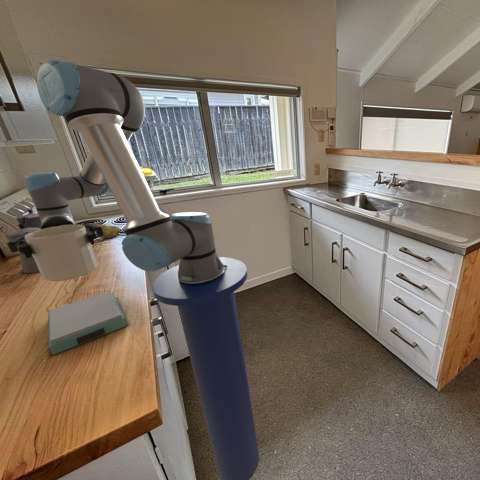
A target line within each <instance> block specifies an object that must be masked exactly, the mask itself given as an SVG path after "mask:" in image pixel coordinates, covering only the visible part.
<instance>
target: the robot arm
mask: <svg viewBox="0 0 480 480" xmlns="http://www.w3.org/2000/svg"><path fill="white" fill-rule="evenodd" d="M36 78H37V79H36V86H37V93H38V95H39V96H38V97H39V99H40V101H41V103H42V104H43V106H44V107H45V108H46V110H47V111H49V112H50V113H51V114H53V115H56V116H58V117H63V119H64V120H65V122H66V124H67V126H68V128H69V129H71V130H73V131H75V132H77V133H79V134H80V135H81V136H82V139H83V141H84V143H85V144H86V146H87V149H88V150H89V152H88V154H87V157H86V160H85V161H84V164H83V166H82V168H81V171H80V172H79V175H75V176H64V177H63V176H62V177H59V175H58V174H57V173H55V172H35V173H27V174H26V175H25V176H24V181H25V182H24V183H25V185H26V186H25V187H26V189H27V192H28V193H29V196H30V197H31V200H32V202H33V205H34V207H35V209H36V213H38V215H39V218H40V220H41V229H45V228H50V227H56V226H63V225H76V223H75V219H74V216H73V214H72V212H71V210H70V206H69V203H68V201H74V200H79V199H84V198H85V199H86V198H91V197H92V198H93V197H100V196H103V195H106V194H110V193H112V196H113V198H114V200H115V202H116V204H117V206H118V207H119V210H120V211H121V214H122V216H123V217H124V219H125V221H126V224H125V226H124V229H123V231H124V233H125V235H126V236H125V237H124V238H123V239H122V241H121V245H122V246H121V250H122V252H123V254H124V256H125V257H126V259H127V260H128V261H129V262H130V263H131V264H132V265H133V266H135V267H136V268H138V269H140V270H142V271H144V272H157V271H159V270H161V269H164V268H168V267H169V266H171V265H172V264H173V263H176V262H178V261H179V263H178V265H179V269H178V279H179V282H180V283H182V284H184V285H202V284H206V283H210V282H212V281H215V280H217V279H218V278H220V277H221V276H222V275H223V274H224V272H225V271H224V267H227V265H223V264H222V262H221V260H220V258H219V257H220V256H219V255H218V252H217V251H216V243H215V237H214V232H213V231H214V230H213V223H212V221H211V217H210V215H209V214H208V213H207V212H199V211H187V212H177V213H172V214H171V215H169V214H167V213H164V212H163V211H161V208H160V207H159V205H158V203H157V200H156V199H155V196H154V194H153V193H152V190H151V188H150V186H149V183H148V182H147V179H146V178H145V176H144V174H143V171H142V170H141V167H140V165H139V163H138V161H137V159H136V157H135V155H134V153H133V151H132V149H131V147H130V144H129V141H130V139H131V138H132V136H133V135H134V133H137V132H139V131H140V129H141V128H142V125H143V123H144V121H145V117H146V105H145V101H144V98H143V95H142V93H141V92H140V90H139V89H138V88H137V87H136V86H135V85H134V83H132V82H131V81H130V80H129V79H128V78H126V77H124V76H123V75H120V74H117V73H114V72H110V71H105V70H101V69H98V68H97V69H96V68H93V67H90V66H89V67H88V66H85V65H79V64H76V63H74V62H71V61H62V60H57V59H49V60H46V61H44V62H42V64H41V65H40V66H39V68H38V71H37V76H36ZM81 225H84V226H85V229H86V232H87V235H88V238H89V240H90V243H91V246H93V245H95V244H96V243H95V240H96V239H98V236H97V235H99V236H103V235H104V231H103V228H102V227H101V226H96V225H93V223H89V222H83V224H81ZM28 233H30V232H25V233H23V235H21V236H19V237H18V238H16V239H14V240H12V241H8V242H6V246H7V247H8V249H9V251H10V253H13V254H14V253H17V252H18V253H19V254H20V253H23V254H25V256H26V258H30V257H31V256H32V253H31V251H30V249H29V246H28V244H27V242H26V240H25V235H26V234H28ZM94 239H95V240H94Z"/></svg>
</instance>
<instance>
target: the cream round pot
mask: <svg viewBox="0 0 480 480" xmlns="http://www.w3.org/2000/svg"><path fill="white" fill-rule="evenodd" d="M25 240H26V242H27V244H28V246H29V249H30V251H31V253H32V255H33V258H34V260H35V262H36V264H37V267H38V269H39V271H40V272H39V274H40V276H41V278H42V280H44V281H49V282H63V281H64V282H65V281H69V280H74V279H76V278H77V279H78V278H79V277H82V276H83V277H84V276H85V275H89V274H90V273H91V272H93V271H94V270H95V269H96V268H97V267H98V266H99V263H98V260H97V258H96V255H95V251H94V249H93V245H91V243H90V240H89V238H88V235H87V232H86V229H85V226H84V225H82V224H75V225H63V226H56V227H50V228H45V229H41V230H37V231H34V232H31V233H28V234H26V235H25Z"/></svg>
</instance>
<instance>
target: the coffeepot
mask: <svg viewBox="0 0 480 480" xmlns="http://www.w3.org/2000/svg"><path fill="white" fill-rule="evenodd" d="M17 226H18V227H19V229H15V230H12V231H7V232H5V233H4V236H5V238H6V239H7V240H8V242H10V241H12V240H14V239H16V238H18V237H19V236H21V235H23V233H25V232H30V233H31V232H34V231H37V230H41V228H25V224H19V223H18V224H17ZM19 261H20V265H21V272H22V273H25V274H34V273H40V271H39V269H38V267H37V264H36V262H35V260H34V258H33V255H32V256H31V257H30V258H26V256H25V254H23V253H19Z"/></svg>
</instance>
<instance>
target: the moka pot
mask: <svg viewBox="0 0 480 480" xmlns="http://www.w3.org/2000/svg"><path fill="white" fill-rule="evenodd" d="M15 219H16V221H17V222H18V225H19V224H25V228H41V220H40V218H39V215H38V213H37V212H36V213H35V212H34V210H33V209H31V208H30V209H27V214H23V215H19V216H17V217H15Z"/></svg>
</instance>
